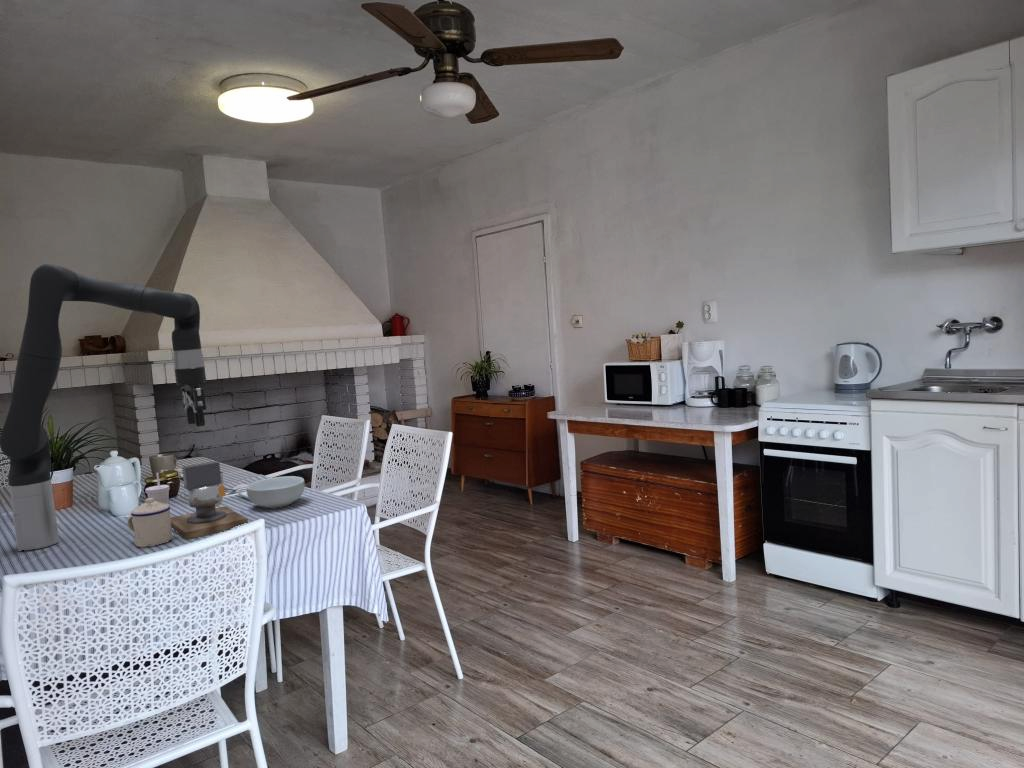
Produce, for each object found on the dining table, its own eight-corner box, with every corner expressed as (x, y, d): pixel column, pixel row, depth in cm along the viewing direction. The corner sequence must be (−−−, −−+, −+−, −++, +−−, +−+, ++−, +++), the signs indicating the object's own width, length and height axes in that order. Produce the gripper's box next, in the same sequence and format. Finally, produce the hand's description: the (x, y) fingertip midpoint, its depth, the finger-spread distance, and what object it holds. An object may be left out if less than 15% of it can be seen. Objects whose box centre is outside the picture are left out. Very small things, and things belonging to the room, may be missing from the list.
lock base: (185, 539, 181) (183, 517, 181) (168, 525, 197) (165, 504, 196) (248, 525, 191) (245, 504, 191) (226, 512, 207) (224, 493, 206)
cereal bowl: (236, 512, 207) (233, 488, 206) (271, 497, 223) (269, 475, 222) (284, 513, 202) (281, 489, 201) (317, 498, 217) (315, 476, 217)
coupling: (191, 509, 188) (187, 469, 187) (184, 504, 194) (179, 465, 193) (229, 501, 194) (225, 462, 193) (221, 497, 200) (216, 459, 199)
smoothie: (163, 522, 200) (157, 475, 199) (143, 522, 202) (138, 475, 200) (177, 516, 207) (172, 470, 205) (159, 516, 208) (153, 470, 207)
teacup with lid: (181, 536, 185) (176, 493, 183) (156, 548, 176) (150, 503, 175) (144, 536, 188) (138, 494, 186) (117, 547, 179) (111, 503, 178)
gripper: (168, 367, 193) (175, 425, 195) (181, 368, 182) (188, 429, 184) (196, 365, 198) (203, 421, 199) (211, 365, 187) (218, 424, 188)
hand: (196, 424), depth 192 cm, fingers open, 8 cm apart
